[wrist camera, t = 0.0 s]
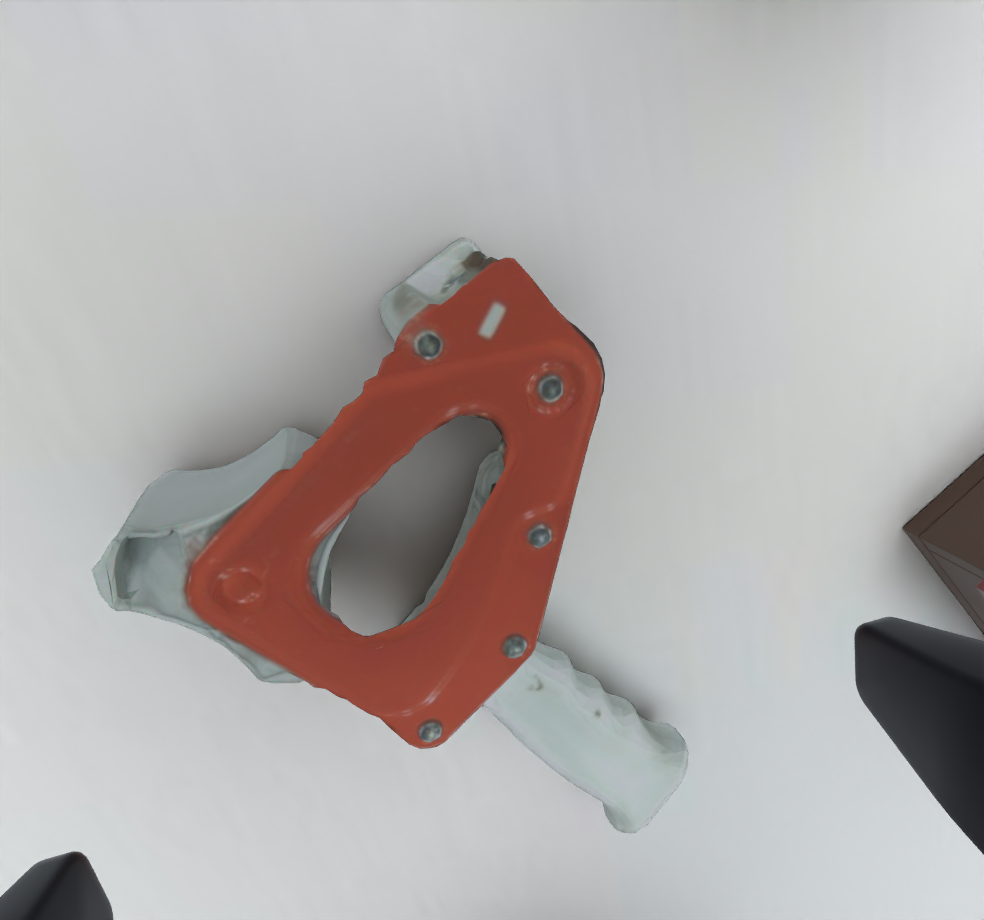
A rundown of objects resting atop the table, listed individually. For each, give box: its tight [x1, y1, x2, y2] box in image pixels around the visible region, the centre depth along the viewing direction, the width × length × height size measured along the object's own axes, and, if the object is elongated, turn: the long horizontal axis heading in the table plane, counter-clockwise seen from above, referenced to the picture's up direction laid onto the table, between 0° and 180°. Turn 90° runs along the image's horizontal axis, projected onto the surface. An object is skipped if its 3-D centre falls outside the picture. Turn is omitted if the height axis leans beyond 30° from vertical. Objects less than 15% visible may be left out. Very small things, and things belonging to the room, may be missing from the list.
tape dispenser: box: [92, 238, 688, 833], centre depth 21 cm, size 18×5×20 cm
